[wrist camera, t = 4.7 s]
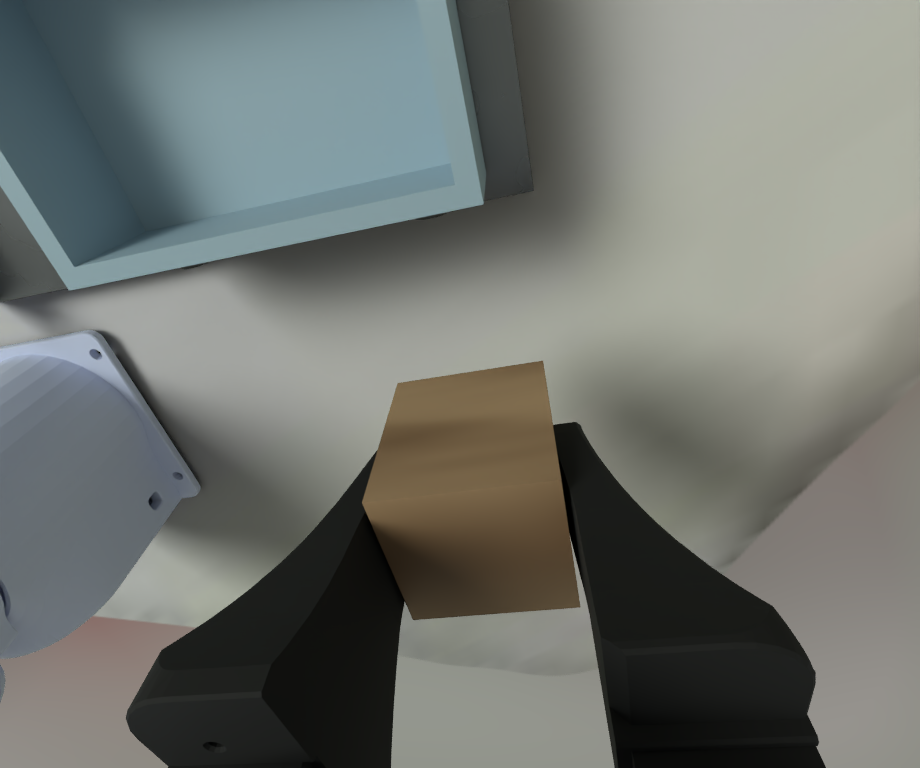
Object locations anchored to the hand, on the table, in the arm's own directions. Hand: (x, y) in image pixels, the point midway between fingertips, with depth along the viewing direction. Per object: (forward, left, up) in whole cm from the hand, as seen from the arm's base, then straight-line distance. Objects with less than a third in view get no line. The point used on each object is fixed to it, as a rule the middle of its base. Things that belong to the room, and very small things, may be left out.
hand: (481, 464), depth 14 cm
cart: (+10, +5, -7) cm, 13 cm away
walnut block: (0, 0, -2) cm, 2 cm away
